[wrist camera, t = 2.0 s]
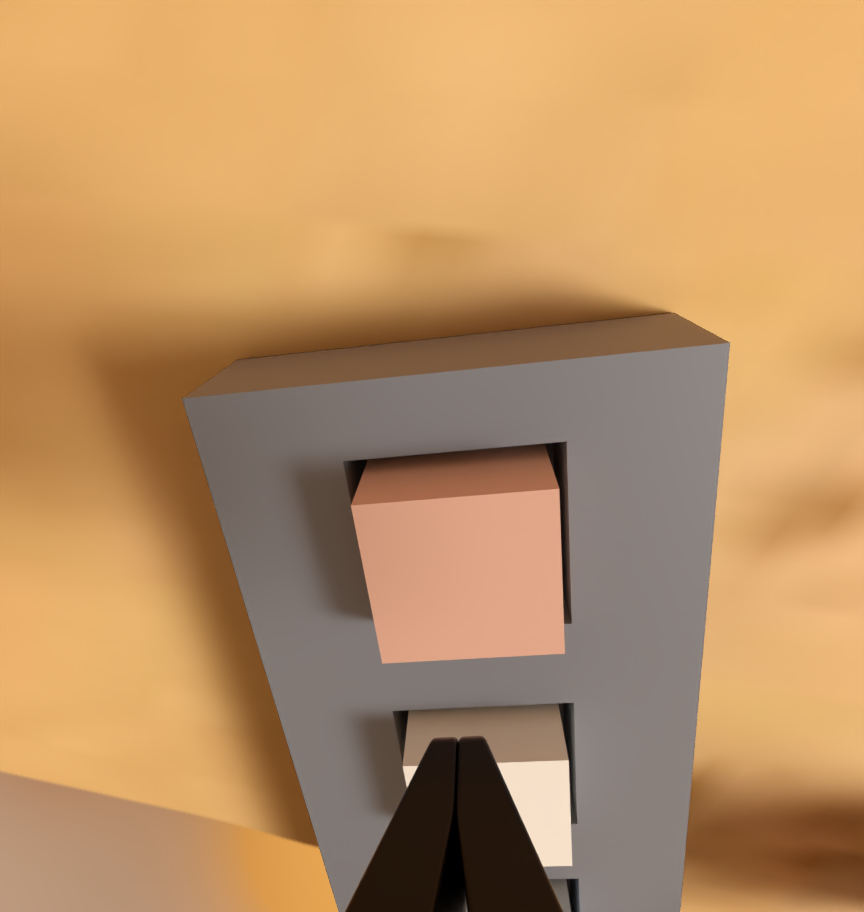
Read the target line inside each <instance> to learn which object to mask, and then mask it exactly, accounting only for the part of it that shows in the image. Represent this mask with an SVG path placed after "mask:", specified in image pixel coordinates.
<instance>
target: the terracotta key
mask: <svg viewBox="0 0 864 912" xmlns="http://www.w3.org/2000/svg"><path fill="white" fill-rule="evenodd" d="M351 509H352V514H353V519H354V524H355V529H356V534H357V539H358V544H359V549H360V554H361V559H362V564H363V569H364V574H365V579H366V584H367V589H368V594H369V599H370V604H371V609H372V614H373V619H374V625H375V630H376V635H377V640H378V645H379V650H380V655H381V660H382V664H384V663H402V662H421V661H439V660H458V659H476V658H495V657H513V656H531V655H550V654H565V639H564V610H563V581H562V552H561V524H560V495H559V486H558V483H557V480H556V477H555V474H554V471H553V468H552V465H551V462H550V459H549V456H548V453H547V450H546V447H545V444H538V445H527V446H515V447H504V448H493V449H481V450H470V451H459V452H447V453H436V454H425V455H414V456H402V457H391V458H380V459H368V461H367V464H366V466H365V469H364V472H363V474H362V477H361V480H360V482H359V485H358V488H357V491H356V493H355V496H354V499H353V501H352V504H351Z"/></svg>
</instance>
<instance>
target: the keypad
mask: <svg viewBox="0 0 864 912" xmlns="http://www.w3.org/2000/svg"><path fill="white" fill-rule="evenodd" d="M729 348H730V343H729V342H728V341H726V340H724V339H722V338H720V337H718V336H716V335H715V334H713V333H711V332H709V331H707V330H705V329H703V328H702V327H700V326H698V325H696V324H694V323H692V322H691V321H689V320H687V319H685V318H683V317H681V316H679V315H678V314H676V313H667V314H658V315H649V316H639V317H630V318H621V319H611V320H602V321H593V322H584V323H574V324H565V325H556V326H546V327H537V328H528V329H518V330H509V331H500V332H491V333H481V334H472V335H463V336H453V337H444V338H435V339H426V340H416V341H407V342H398V343H388V344H379V345H370V346H360V347H351V348H342V349H333V350H323V351H314V352H305V353H295V354H286V355H277V356H268V357H258V358H249V359H240V360H236V361H235V362H233V363H232V364H230V365H229V366H228V367H226V368H225V369H223V370H222V371H221V372H219V373H218V374H216V375H215V376H213V377H212V378H211V379H209V380H208V381H206V382H205V383H204V384H202V385H201V386H199V387H198V388H196V389H195V390H194V391H192V392H191V393H189V394H188V395H186V396H185V397H184V398H182V400H183V403H184V407H185V410H186V413H187V417H188V420H189V423H190V426H191V430H192V433H193V436H194V439H195V443H196V446H197V449H198V453H199V456H200V459H201V462H202V466H203V469H204V472H205V475H206V479H207V482H208V485H209V489H210V492H211V495H212V498H213V502H214V505H215V508H216V511H217V515H218V518H219V521H220V525H221V528H222V531H223V534H224V538H225V541H226V544H227V547H228V551H229V554H230V557H231V561H232V564H233V567H234V570H235V574H236V577H237V580H238V583H239V587H240V590H241V593H242V597H243V600H244V603H245V606H246V610H247V613H248V616H249V619H250V623H251V626H252V629H253V633H254V636H255V639H256V642H257V646H258V649H259V652H260V655H261V659H262V662H263V665H264V669H265V672H266V675H267V678H268V682H269V685H270V688H271V692H272V695H273V698H274V701H275V705H276V708H277V711H278V714H279V718H280V721H281V724H282V728H283V731H284V734H285V737H286V741H287V744H288V747H289V750H290V754H291V757H292V760H293V764H294V767H295V770H296V773H297V777H298V780H299V783H300V786H301V790H302V793H303V796H304V800H305V803H306V806H307V809H308V813H309V816H310V819H311V822H312V826H313V829H314V832H315V836H316V839H317V842H318V845H319V849H320V852H321V855H322V858H323V862H324V865H325V868H326V872H327V875H328V878H329V881H330V885H331V888H332V891H333V894H334V898H335V901H336V904H337V907H338V911H339V912H345V910H346V908H347V906H348V904H349V902H350V900H351V898H352V896H353V894H354V892H355V890H356V888H357V886H358V884H359V882H360V880H361V878H362V876H363V874H364V872H365V870H366V868H367V866H368V864H369V862H370V860H371V858H372V856H373V854H374V852H375V850H376V848H377V846H378V845H379V843H380V841H381V839H382V837H383V835H384V833H385V831H386V829H387V827H388V825H389V823H390V821H391V819H392V817H393V815H394V813H395V811H396V809H397V807H398V805H399V803H400V801H401V799H402V797H403V795H404V793H405V791H406V789H407V786H406V781H405V776H404V771H403V759H404V750H405V741H406V731H407V722H408V713H409V710H425V709H447V708H469V707H490V706H512V705H533V704H555V703H558V705H559V711H560V716H561V721H562V727H563V732H564V738H565V743H566V748H567V754H568V759H569V783H570V812H571V841H572V866H545V867H544V870H545V872H546V874H547V876H548V878H549V879H566V882H567V888H568V895H569V902H570V908H571V912H680V907H681V896H682V884H683V873H684V862H685V850H686V839H687V827H688V816H689V805H690V793H691V782H692V770H693V759H694V747H695V736H696V725H697V713H698V702H699V690H700V679H701V668H702V656H703V645H704V633H705V622H706V610H707V599H708V588H709V576H710V565H711V553H712V542H713V531H714V519H715V508H716V496H717V485H718V473H719V462H720V451H721V439H722V428H723V416H724V405H725V394H726V382H727V371H728V359H729ZM538 444H545V447H546V450H547V453H548V456H549V459H550V462H551V465H552V468H553V471H554V474H555V477H556V480H557V483H558V486H559V495H560V524H561V552H562V581H563V610H564V639H565V654H550V655H531V656H513V657H495V658H476V659H458V660H439V661H421V662H402V663H384V664H382V660H381V655H380V650H379V645H378V640H377V635H376V630H375V625H374V619H373V614H372V609H371V604H370V599H369V594H368V589H367V584H366V579H365V574H364V569H363V564H362V559H361V554H360V549H359V544H358V539H357V534H356V529H355V524H354V519H353V514H352V509H351V504H352V501H353V499H354V496H355V493H356V491H357V488H358V485H359V482H360V480H361V477H362V474H363V472H364V469H365V466H366V464H367V461H368V459H380V458H391V457H402V456H414V455H425V454H436V453H447V452H459V451H470V450H481V449H493V448H504V447H515V446H527V445H538Z"/></svg>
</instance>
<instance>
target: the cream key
mask: <svg viewBox="0 0 864 912" xmlns="http://www.w3.org/2000/svg"><path fill="white" fill-rule="evenodd" d="M463 736H483V737H484V738H485V739H486V741H487V743H488V745H489V747H490V749H491V752H492V754H493V756H494V758H495V761H496V763H497V765H498V767H499V769H500V772H501V774H502V776H503V778H504V781H505V783H506V785H507V787H508V789H509V792H510V794H511V796H512V798H513V801H514V803H515V805H516V807H517V809H518V812H519V814H520V816H521V818H522V821H523V823H524V825H525V827H526V829H527V832H528V834H529V836H530V838H531V841H532V843H533V845H534V847H535V850H536V852H537V854H538V856H539V858H540V861H541V863H542V865H543V867H545V866H572V841H571V812H570V783H569V759H568V754H567V748H566V743H565V738H564V732H563V727H562V721H561V716H560V711H559V705H558V703H555V704H533V705H512V706H490V707H469V708H447V709H425V710H409V713H408V722H407V731H406V741H405V750H404V759H403V771H404V776H405V781H406V786H407V787H408V785H409V783H410V781H411V779H412V777H413V775H414V773H415V771H416V769H417V767H418V765H419V763H420V761H421V759H422V757H423V755H424V753H425V751H426V749H427V747H428V745H429V743H430V742H431V740H432V739H434V738H439V737H455V738H457V739H458V741H459V739H460V738H461V737H463Z"/></svg>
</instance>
